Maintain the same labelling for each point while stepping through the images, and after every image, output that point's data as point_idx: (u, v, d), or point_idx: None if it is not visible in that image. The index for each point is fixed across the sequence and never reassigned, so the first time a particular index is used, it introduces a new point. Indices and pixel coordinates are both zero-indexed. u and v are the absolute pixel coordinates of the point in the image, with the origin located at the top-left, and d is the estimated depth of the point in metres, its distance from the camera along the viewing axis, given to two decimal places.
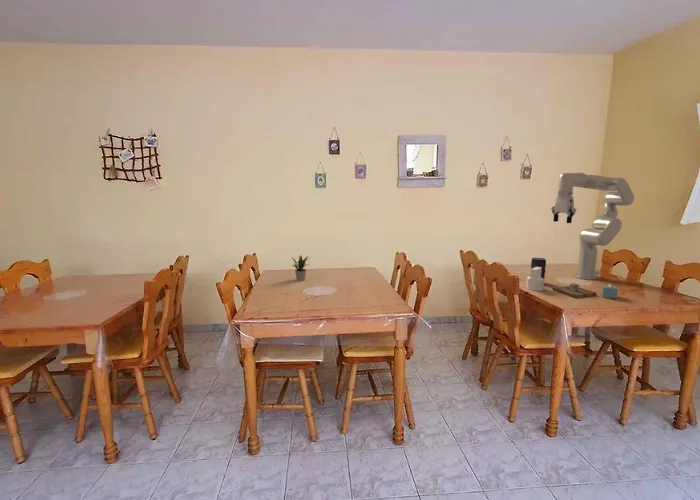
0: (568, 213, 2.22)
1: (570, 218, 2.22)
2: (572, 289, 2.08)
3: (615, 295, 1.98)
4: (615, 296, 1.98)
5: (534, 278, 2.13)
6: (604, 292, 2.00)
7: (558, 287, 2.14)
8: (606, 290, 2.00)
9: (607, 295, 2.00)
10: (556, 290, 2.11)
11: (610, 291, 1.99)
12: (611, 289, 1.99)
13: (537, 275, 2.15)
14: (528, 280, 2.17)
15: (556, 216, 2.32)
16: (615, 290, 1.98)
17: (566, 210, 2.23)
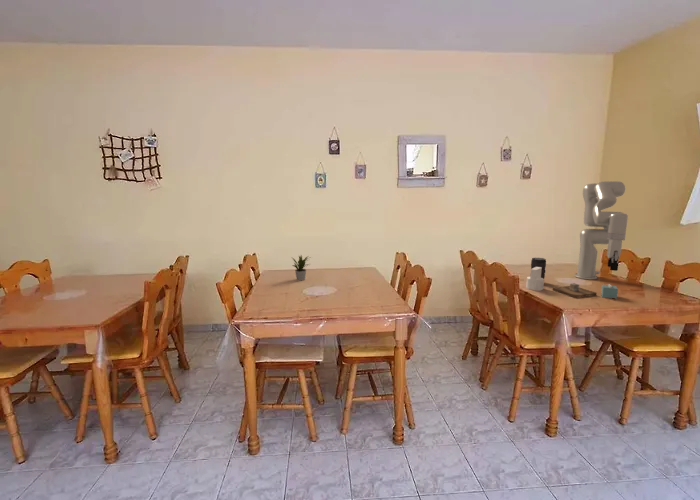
0: None
1: None
2: (572, 289, 2.08)
3: (615, 295, 1.98)
4: (615, 296, 1.98)
5: (534, 278, 2.13)
6: (604, 292, 2.00)
7: (558, 287, 2.14)
8: (606, 290, 2.00)
9: (607, 295, 2.00)
10: (556, 290, 2.11)
11: (610, 291, 1.99)
12: (611, 289, 1.99)
13: (537, 275, 2.15)
14: (528, 280, 2.17)
15: None
16: (615, 290, 1.98)
17: None
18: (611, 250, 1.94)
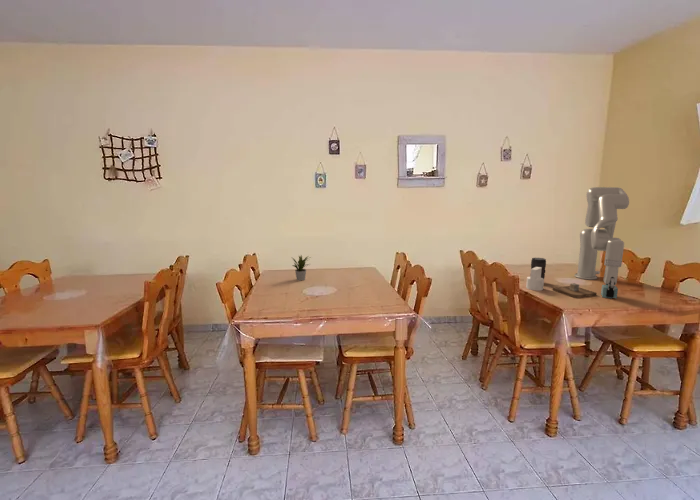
0: None
1: None
2: (572, 289, 2.08)
3: (615, 295, 1.98)
4: (615, 296, 1.98)
5: (534, 278, 2.13)
6: (604, 292, 2.00)
7: (558, 287, 2.14)
8: (606, 290, 2.00)
9: None
10: (556, 290, 2.11)
11: None
12: None
13: (537, 275, 2.15)
14: (528, 280, 2.17)
15: None
16: (615, 290, 1.98)
17: None
18: (608, 276, 1.97)
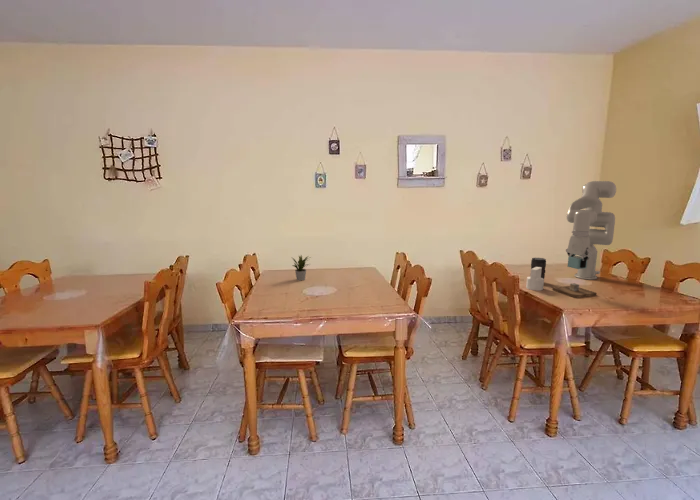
0: (573, 254, 2.10)
1: None
2: (572, 289, 2.08)
3: None
4: None
5: (534, 278, 2.13)
6: (579, 264, 2.02)
7: (558, 287, 2.14)
8: (580, 261, 2.02)
9: None
10: (556, 290, 2.11)
11: None
12: None
13: (537, 275, 2.15)
14: (528, 280, 2.17)
15: None
16: None
17: None
18: (584, 247, 1.99)
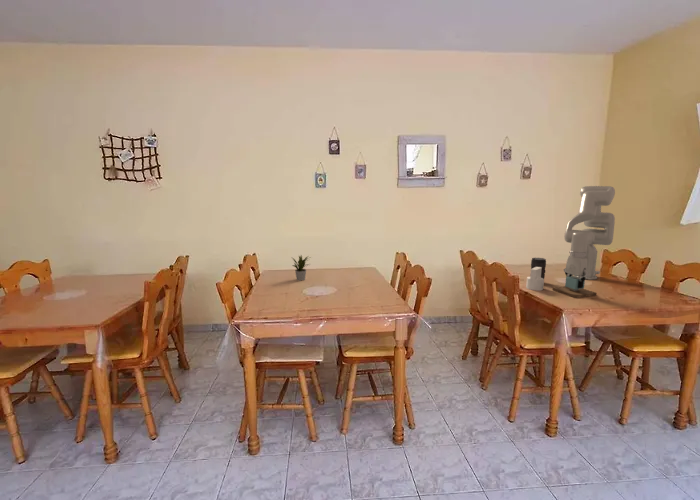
0: (571, 273, 2.12)
1: None
2: (572, 289, 2.08)
3: (583, 285, 2.06)
4: (583, 286, 2.06)
5: (534, 278, 2.13)
6: (576, 284, 2.04)
7: (558, 287, 2.14)
8: (577, 282, 2.04)
9: None
10: (556, 290, 2.11)
11: None
12: None
13: (537, 275, 2.15)
14: (528, 280, 2.17)
15: None
16: None
17: None
18: (581, 268, 2.01)
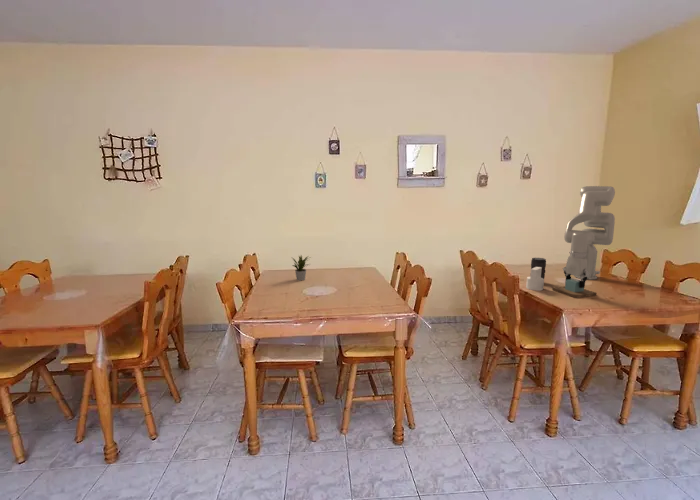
0: None
1: None
2: None
3: (583, 288, 2.06)
4: (582, 289, 2.06)
5: (534, 278, 2.13)
6: (576, 287, 2.05)
7: (558, 287, 2.14)
8: (577, 285, 2.05)
9: (577, 289, 2.05)
10: (556, 290, 2.11)
11: None
12: None
13: (537, 275, 2.15)
14: (528, 280, 2.17)
15: None
16: None
17: None
18: (581, 269, 2.01)
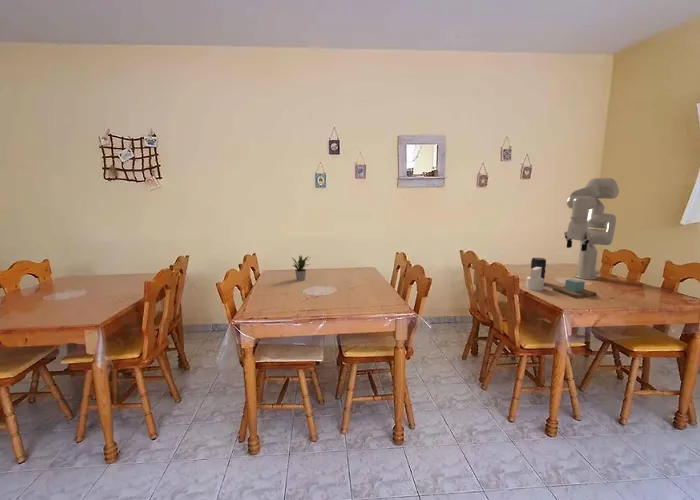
0: None
1: None
2: None
3: (583, 288, 2.06)
4: (582, 289, 2.06)
5: (534, 278, 2.13)
6: (576, 287, 2.05)
7: (558, 287, 2.14)
8: (577, 285, 2.05)
9: (577, 289, 2.05)
10: (556, 290, 2.11)
11: (580, 285, 2.05)
12: (580, 283, 2.05)
13: (537, 275, 2.15)
14: (528, 280, 2.17)
15: None
16: (583, 283, 2.06)
17: None
18: (582, 233, 2.07)
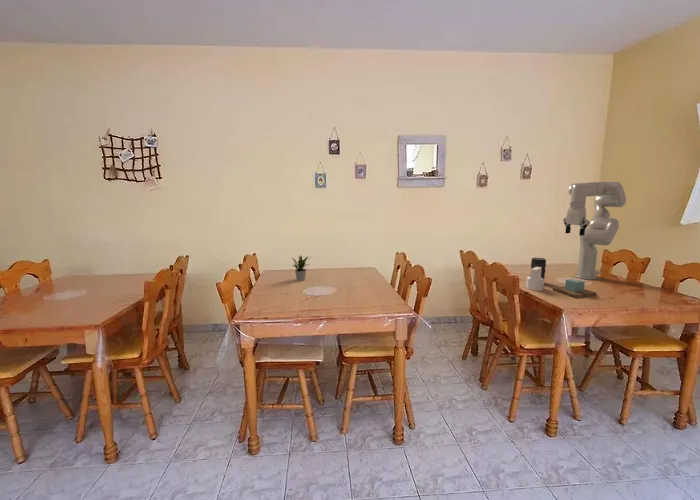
0: (570, 223, 2.27)
1: None
2: None
3: (583, 288, 2.06)
4: (582, 289, 2.06)
5: (534, 278, 2.13)
6: (576, 287, 2.05)
7: (558, 287, 2.14)
8: (577, 285, 2.05)
9: (577, 289, 2.05)
10: (556, 290, 2.11)
11: (580, 285, 2.05)
12: (580, 283, 2.05)
13: (537, 275, 2.15)
14: (528, 280, 2.17)
15: None
16: (583, 283, 2.06)
17: None
18: (581, 217, 2.16)
